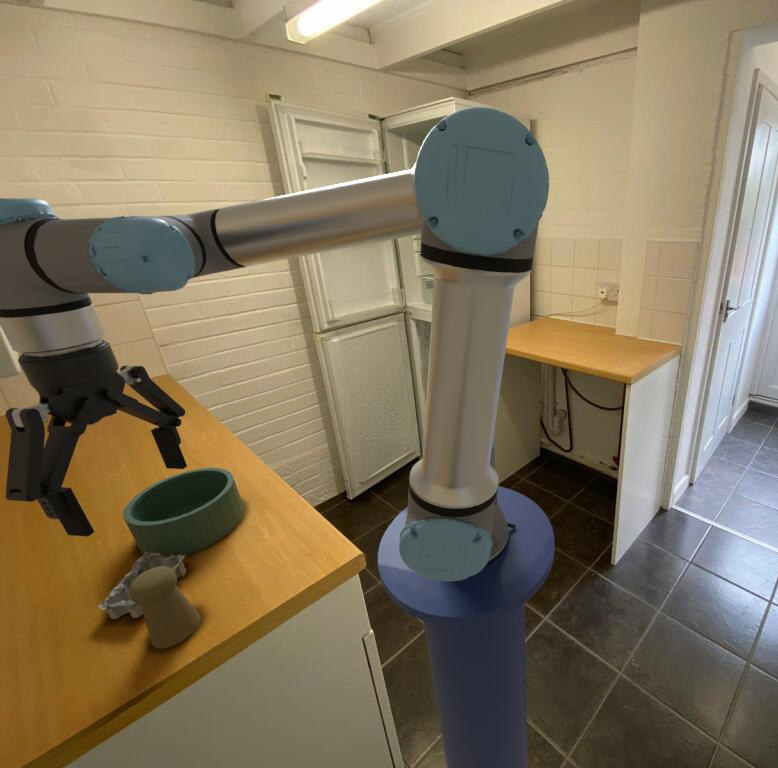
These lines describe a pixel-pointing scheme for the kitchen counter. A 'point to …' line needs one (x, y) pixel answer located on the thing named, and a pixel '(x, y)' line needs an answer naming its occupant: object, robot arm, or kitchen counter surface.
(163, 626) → the cork
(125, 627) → the kitchen counter surface
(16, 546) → the kitchen counter surface
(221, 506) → the green round bowl
